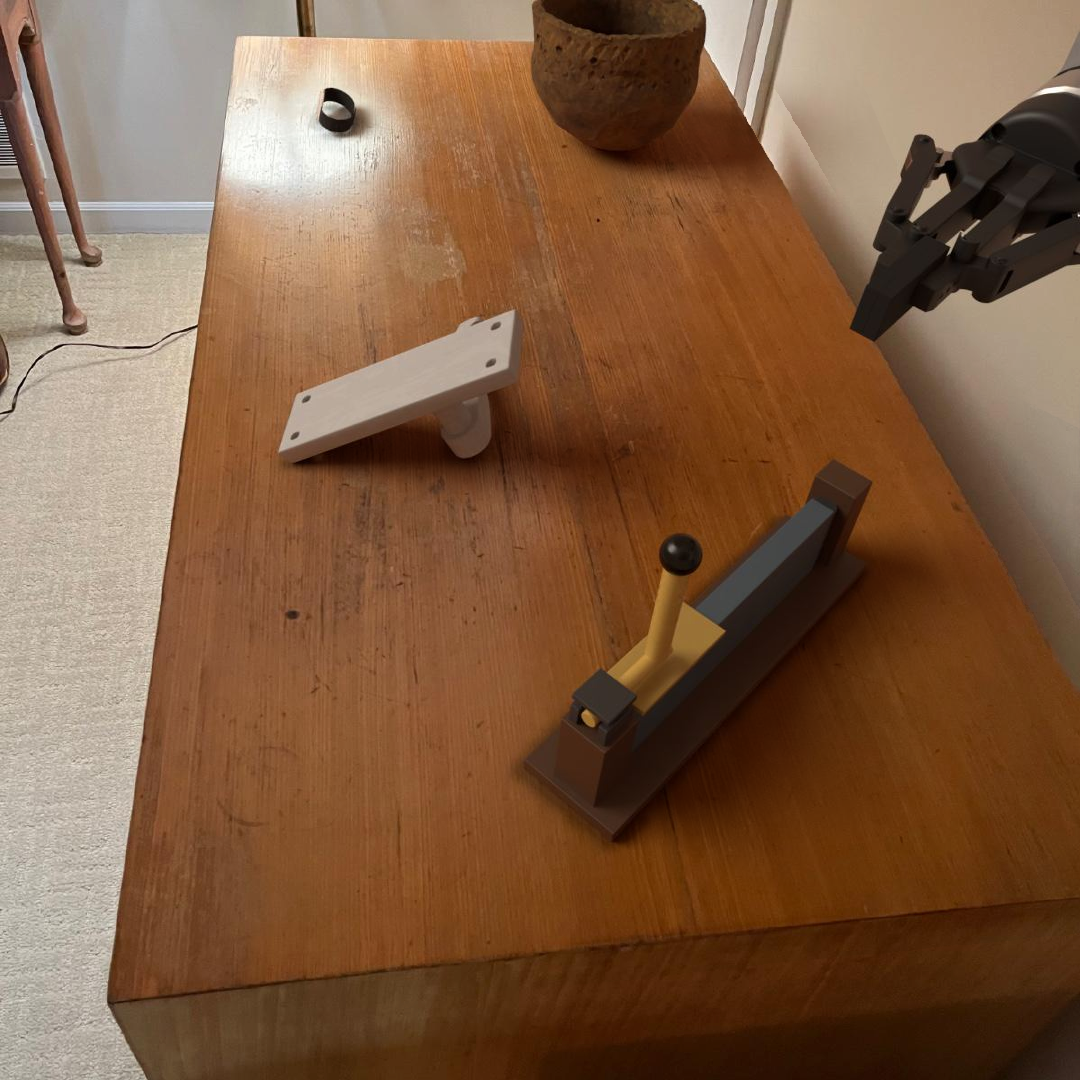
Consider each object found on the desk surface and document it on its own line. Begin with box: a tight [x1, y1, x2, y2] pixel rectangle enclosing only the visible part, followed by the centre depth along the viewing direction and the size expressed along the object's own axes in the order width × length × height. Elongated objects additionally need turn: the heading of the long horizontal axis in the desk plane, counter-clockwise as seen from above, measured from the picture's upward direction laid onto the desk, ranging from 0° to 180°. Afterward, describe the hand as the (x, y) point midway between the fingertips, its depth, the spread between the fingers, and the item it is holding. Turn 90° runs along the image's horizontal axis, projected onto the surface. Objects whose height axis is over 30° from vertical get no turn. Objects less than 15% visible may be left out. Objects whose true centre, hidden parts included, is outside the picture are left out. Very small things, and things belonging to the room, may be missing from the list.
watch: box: [314, 87, 357, 134], centre depth 116 cm, size 8×5×4 cm, turn 6°
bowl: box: [530, 0, 707, 152], centre depth 113 cm, size 19×19×15 cm
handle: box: [277, 308, 524, 464], centre depth 82 cm, size 18×8×20 cm
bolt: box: [581, 532, 704, 727], centre depth 53 cm, size 7×2×10 cm, turn 138°
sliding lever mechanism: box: [523, 458, 873, 843], centre depth 65 cm, size 29×7×9 cm, turn 138°
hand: (870, 313), depth 52 cm, fingers closed
